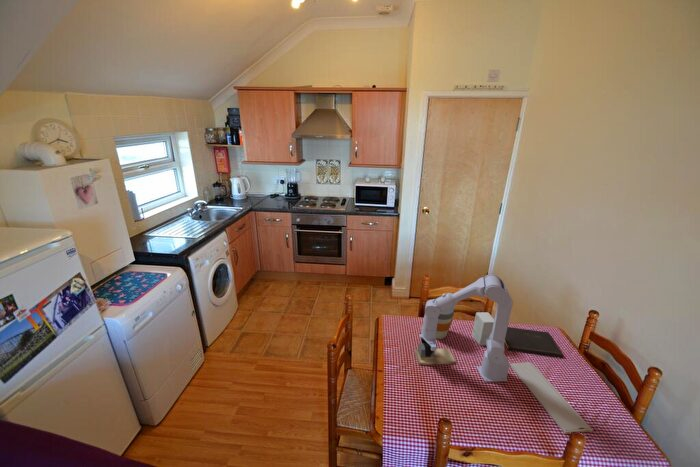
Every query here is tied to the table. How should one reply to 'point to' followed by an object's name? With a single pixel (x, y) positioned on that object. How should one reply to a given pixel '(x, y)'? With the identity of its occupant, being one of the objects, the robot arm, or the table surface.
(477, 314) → the small box
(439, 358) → the pine board
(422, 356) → the block
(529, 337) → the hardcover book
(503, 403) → the table surface
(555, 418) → the baseboard molding
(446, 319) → the reusable coffee cup
